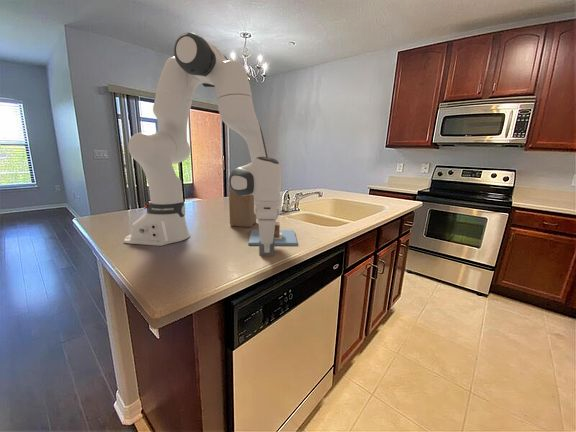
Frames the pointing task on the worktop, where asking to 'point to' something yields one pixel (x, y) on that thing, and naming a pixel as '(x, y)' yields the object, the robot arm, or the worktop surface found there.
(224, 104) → the robot arm
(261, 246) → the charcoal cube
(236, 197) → the block
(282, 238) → the board
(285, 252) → the worktop surface
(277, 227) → the walnut cube
